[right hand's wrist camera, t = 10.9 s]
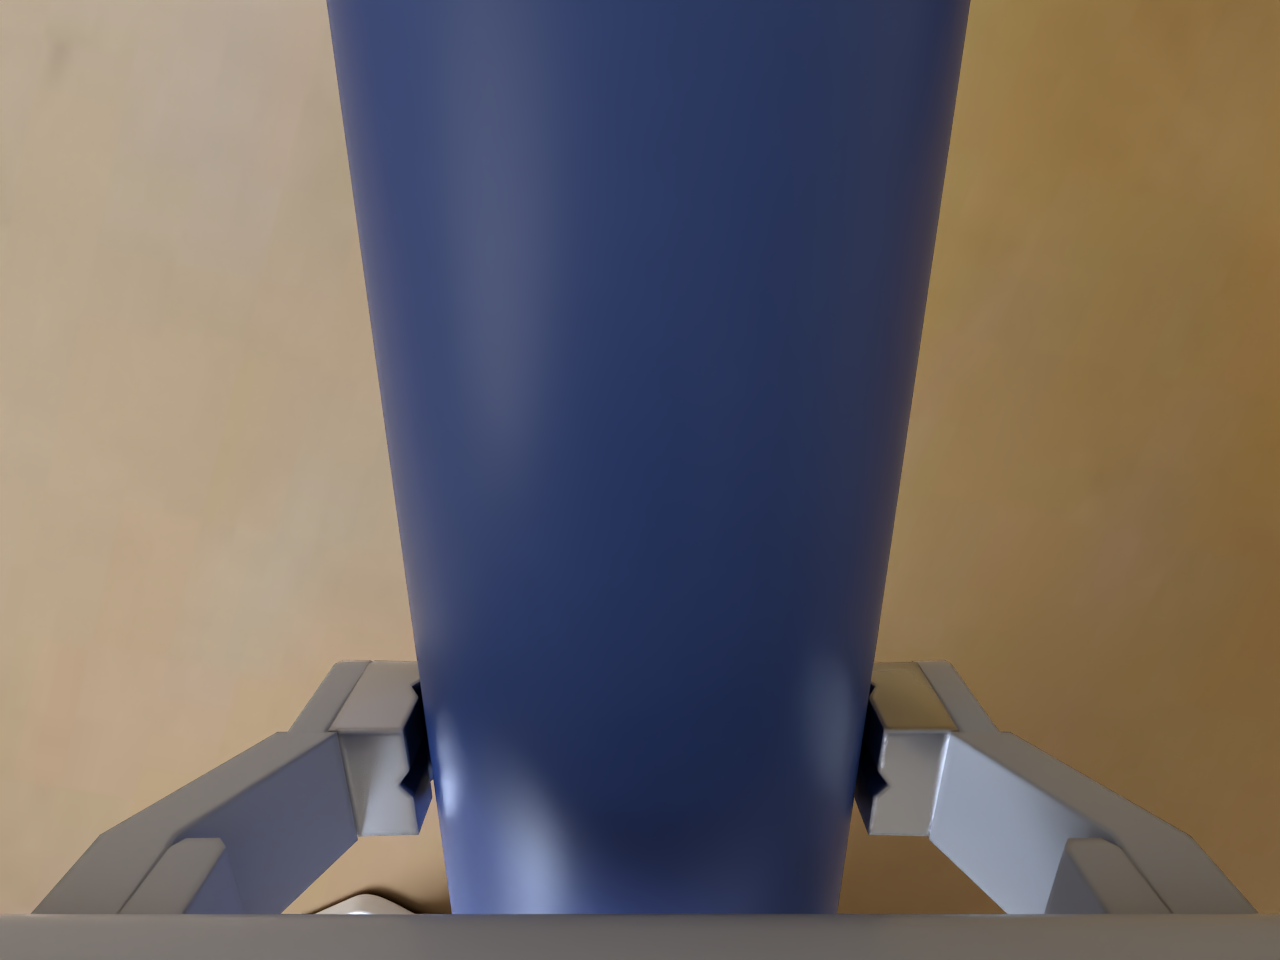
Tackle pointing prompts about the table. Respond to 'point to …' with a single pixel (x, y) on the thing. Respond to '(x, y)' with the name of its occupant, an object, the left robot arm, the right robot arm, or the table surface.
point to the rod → (646, 418)
